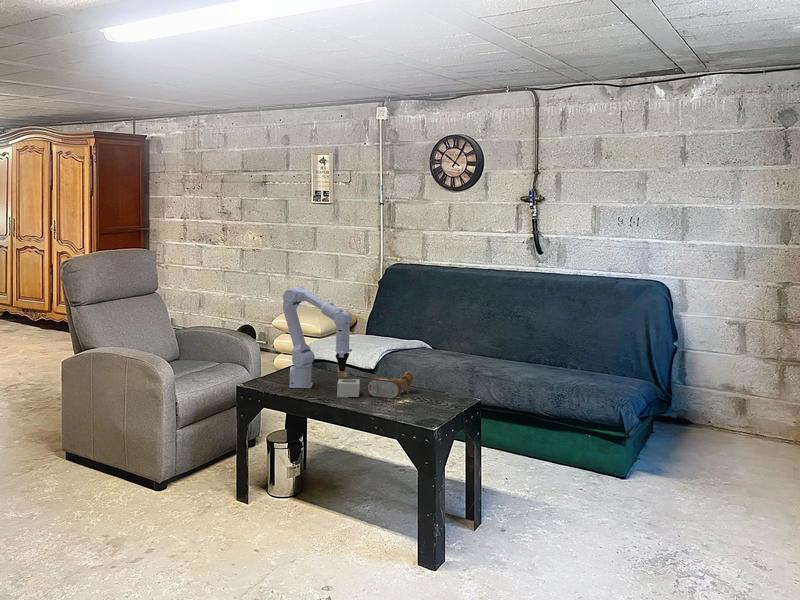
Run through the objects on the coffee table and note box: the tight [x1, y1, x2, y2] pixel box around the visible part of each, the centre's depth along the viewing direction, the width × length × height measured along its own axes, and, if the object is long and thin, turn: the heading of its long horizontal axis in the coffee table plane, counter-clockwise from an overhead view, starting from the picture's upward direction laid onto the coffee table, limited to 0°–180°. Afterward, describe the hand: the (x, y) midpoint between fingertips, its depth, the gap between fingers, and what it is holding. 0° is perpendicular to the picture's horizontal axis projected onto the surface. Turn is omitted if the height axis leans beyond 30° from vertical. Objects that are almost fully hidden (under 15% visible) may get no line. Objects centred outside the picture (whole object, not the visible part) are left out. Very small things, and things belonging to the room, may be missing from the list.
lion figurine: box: [394, 370, 414, 394], centre depth 305 cm, size 15×5×9 cm, turn 130°
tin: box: [366, 376, 402, 400], centre depth 298 cm, size 15×3×8 cm, turn 74°
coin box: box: [336, 378, 361, 398], centre depth 300 cm, size 9×8×6 cm
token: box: [337, 366, 348, 378], centre depth 304 cm, size 4×2×4 cm, turn 91°
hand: (342, 370), depth 304 cm, fingers closed on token, 2 cm apart
